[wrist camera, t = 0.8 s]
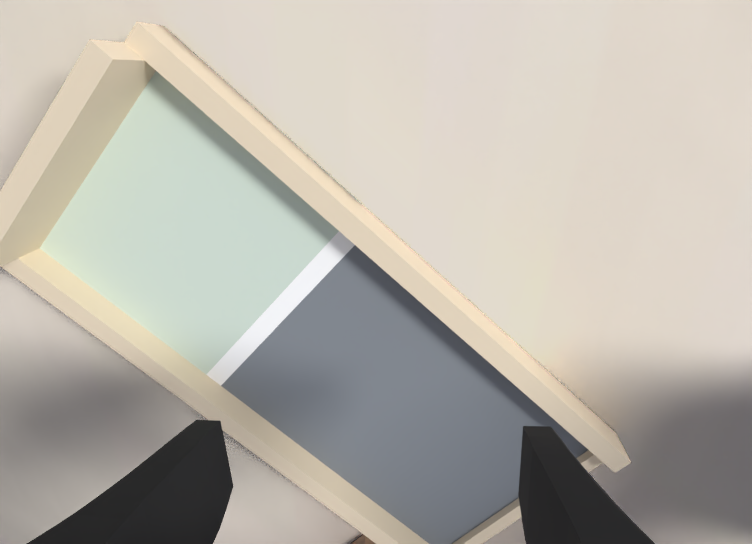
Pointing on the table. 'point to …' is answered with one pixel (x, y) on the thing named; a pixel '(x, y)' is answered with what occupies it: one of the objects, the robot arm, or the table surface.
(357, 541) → the open wooden square ring
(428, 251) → the table surface
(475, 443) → the tray
